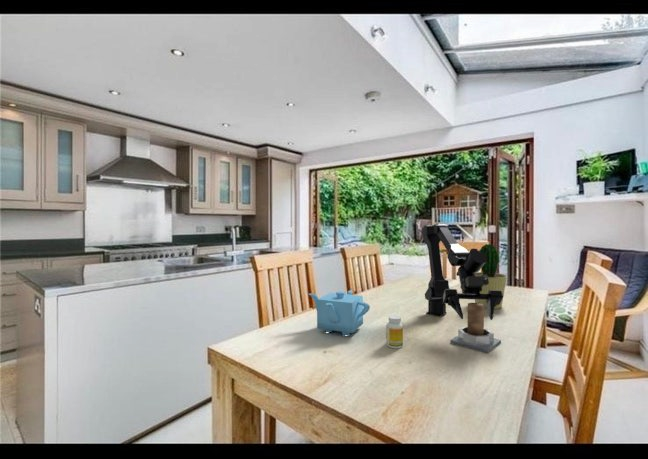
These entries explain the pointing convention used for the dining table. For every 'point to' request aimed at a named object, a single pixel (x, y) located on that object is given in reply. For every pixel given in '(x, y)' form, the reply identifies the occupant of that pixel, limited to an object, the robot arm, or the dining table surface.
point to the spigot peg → (475, 319)
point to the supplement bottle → (394, 332)
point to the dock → (480, 348)
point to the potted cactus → (491, 274)
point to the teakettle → (340, 311)
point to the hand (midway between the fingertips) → (477, 318)
